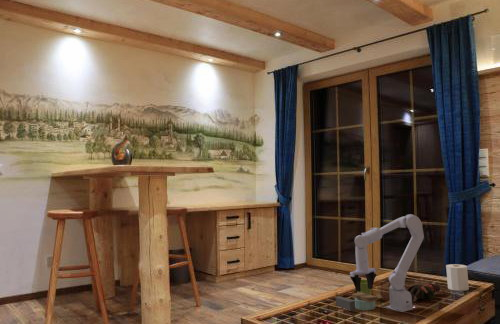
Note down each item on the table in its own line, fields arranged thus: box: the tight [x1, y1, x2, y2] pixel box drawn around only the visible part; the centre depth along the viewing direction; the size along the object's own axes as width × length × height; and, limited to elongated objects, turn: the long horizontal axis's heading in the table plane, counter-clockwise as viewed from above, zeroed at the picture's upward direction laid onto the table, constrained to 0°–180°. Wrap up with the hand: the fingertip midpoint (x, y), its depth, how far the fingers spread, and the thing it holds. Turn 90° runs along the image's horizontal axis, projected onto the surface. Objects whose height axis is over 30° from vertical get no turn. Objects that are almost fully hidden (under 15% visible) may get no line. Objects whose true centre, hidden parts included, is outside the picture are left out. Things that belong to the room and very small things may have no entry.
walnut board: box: [351, 292, 378, 302], centre depth 194 cm, size 11×6×2 cm, turn 28°
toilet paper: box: [445, 263, 470, 292], centre depth 220 cm, size 10×10×12 cm
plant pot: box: [356, 278, 372, 295], centre depth 210 cm, size 9×9×9 cm
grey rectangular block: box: [335, 296, 356, 312], centre depth 193 cm, size 10×3×4 cm, turn 28°
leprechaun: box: [407, 282, 441, 303], centre depth 205 cm, size 11×10×25 cm
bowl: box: [354, 298, 376, 311], centre depth 194 cm, size 9×9×4 cm
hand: (364, 290), depth 194 cm, fingers open, 7 cm apart
